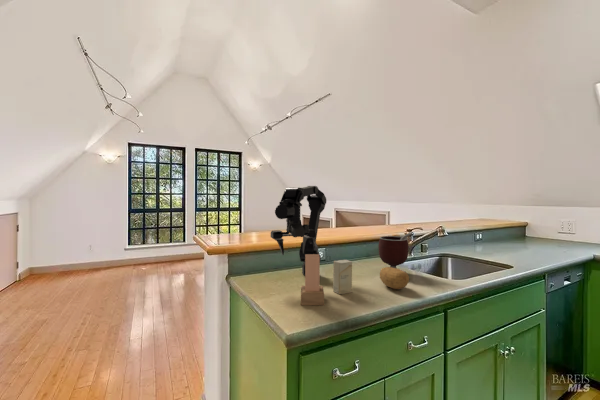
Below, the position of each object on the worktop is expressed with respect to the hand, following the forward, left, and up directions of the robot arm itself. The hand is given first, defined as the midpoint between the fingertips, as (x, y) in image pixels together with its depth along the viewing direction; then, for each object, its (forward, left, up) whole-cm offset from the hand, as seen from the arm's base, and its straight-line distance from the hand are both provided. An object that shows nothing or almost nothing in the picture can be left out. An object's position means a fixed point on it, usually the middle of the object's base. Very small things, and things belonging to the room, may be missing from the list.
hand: (293, 254), depth 120 cm
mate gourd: (-52, -2, -13) cm, 54 cm away
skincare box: (-16, +14, -13) cm, 25 cm away
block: (-1, +19, -9) cm, 21 cm away
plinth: (-1, +19, -13) cm, 23 cm away
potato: (-38, +16, -13) cm, 43 cm away
